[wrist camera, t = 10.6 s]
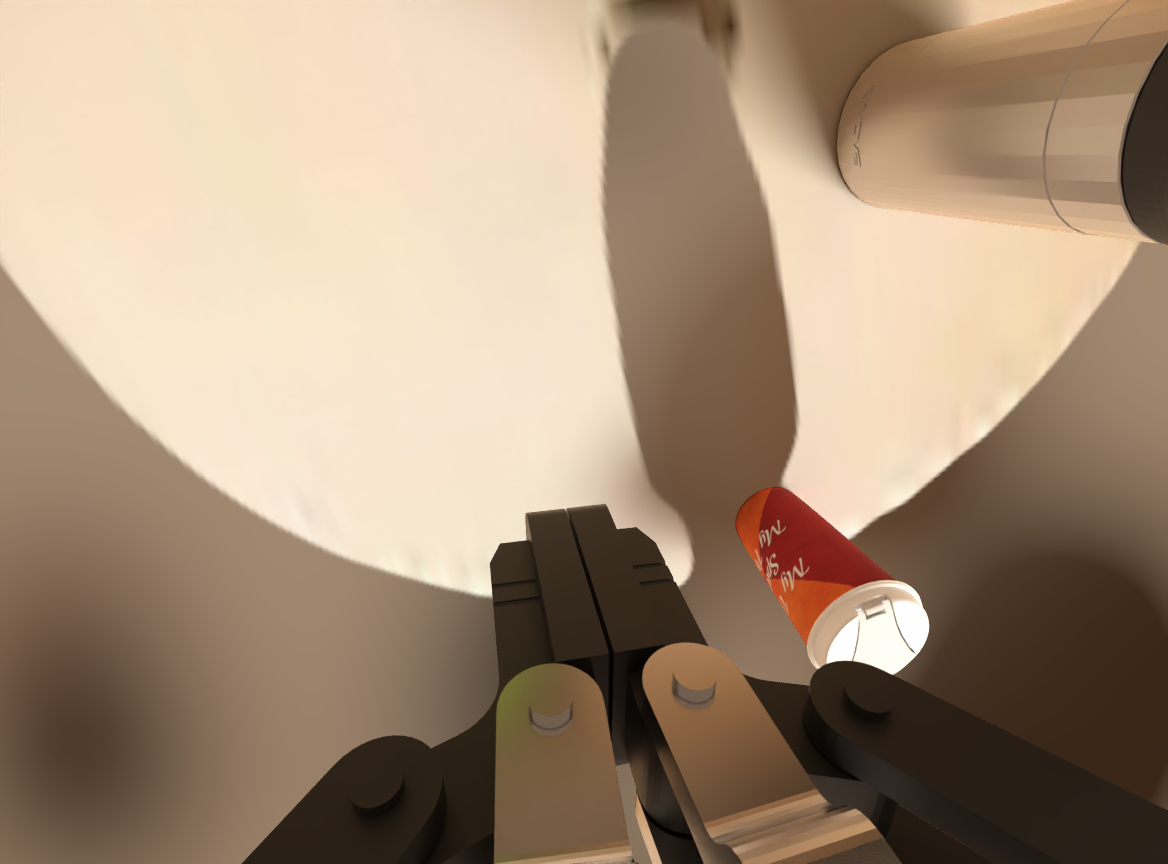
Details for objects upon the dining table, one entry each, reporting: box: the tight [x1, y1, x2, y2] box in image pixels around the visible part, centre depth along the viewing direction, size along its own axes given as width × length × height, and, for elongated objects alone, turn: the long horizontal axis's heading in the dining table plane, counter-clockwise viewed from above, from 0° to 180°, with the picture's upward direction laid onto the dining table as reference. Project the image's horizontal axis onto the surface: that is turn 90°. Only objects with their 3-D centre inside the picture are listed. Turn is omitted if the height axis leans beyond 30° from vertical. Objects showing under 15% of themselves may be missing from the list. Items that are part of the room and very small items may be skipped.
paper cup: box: [736, 487, 929, 675], centre depth 41 cm, size 8×8×14 cm
